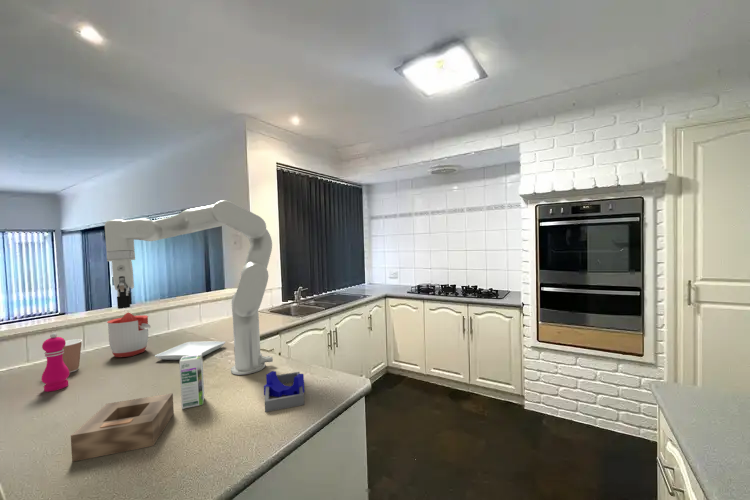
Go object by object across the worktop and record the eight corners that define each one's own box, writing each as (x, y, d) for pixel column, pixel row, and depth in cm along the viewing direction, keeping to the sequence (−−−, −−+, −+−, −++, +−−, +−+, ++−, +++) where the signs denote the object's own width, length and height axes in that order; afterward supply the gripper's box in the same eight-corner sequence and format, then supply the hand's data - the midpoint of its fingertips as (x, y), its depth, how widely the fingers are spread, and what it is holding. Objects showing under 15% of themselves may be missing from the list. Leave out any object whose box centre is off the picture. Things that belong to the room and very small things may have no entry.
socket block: (173, 413, 93) (172, 392, 93) (153, 445, 77) (152, 420, 77) (107, 425, 88) (106, 402, 88) (72, 461, 73) (70, 434, 73)
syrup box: (181, 409, 95) (178, 361, 95) (184, 401, 100) (181, 355, 100) (202, 405, 97) (200, 357, 97) (204, 397, 102) (202, 352, 102)
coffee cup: (44, 374, 130) (42, 345, 130) (75, 365, 139) (74, 338, 139) (57, 377, 126) (56, 347, 126) (89, 368, 136) (87, 340, 135)
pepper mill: (38, 394, 111) (34, 337, 111) (47, 386, 117) (44, 332, 117) (65, 389, 114) (62, 333, 114) (73, 382, 121) (70, 329, 120)
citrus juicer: (137, 358, 145) (135, 315, 145) (99, 360, 145) (97, 316, 145) (160, 347, 161) (158, 308, 161) (127, 349, 161) (124, 309, 161)
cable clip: (264, 395, 102) (263, 376, 102) (273, 388, 106) (272, 371, 106) (296, 399, 98) (295, 379, 98) (304, 392, 102) (303, 373, 102)
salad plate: (188, 347, 160) (187, 340, 160) (226, 347, 157) (226, 340, 157) (153, 363, 139) (152, 355, 139) (197, 363, 136) (196, 355, 136)
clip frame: (299, 380, 112) (299, 371, 112) (304, 404, 94) (303, 394, 94) (267, 385, 109) (266, 376, 109) (265, 412, 91) (264, 401, 91)
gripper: (134, 255, 104) (137, 307, 104) (135, 255, 118) (138, 301, 118) (104, 257, 99) (108, 311, 100) (109, 257, 113) (112, 305, 114)
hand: (124, 306), depth 109 cm, fingers open, 9 cm apart
